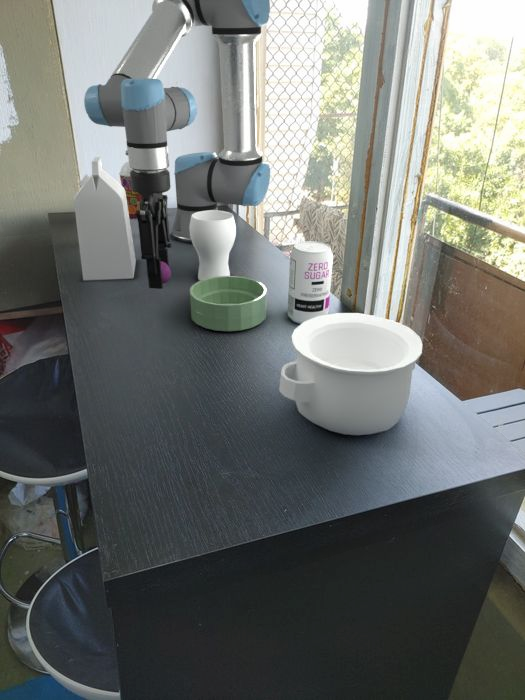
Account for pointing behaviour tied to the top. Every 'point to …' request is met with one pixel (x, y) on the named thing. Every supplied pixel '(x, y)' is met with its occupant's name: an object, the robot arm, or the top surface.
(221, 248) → the cup
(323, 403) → the pot
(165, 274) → the ball
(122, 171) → the smoothie
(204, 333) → the top surface
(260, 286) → the bowl
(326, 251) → the supplement can
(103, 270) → the milk
